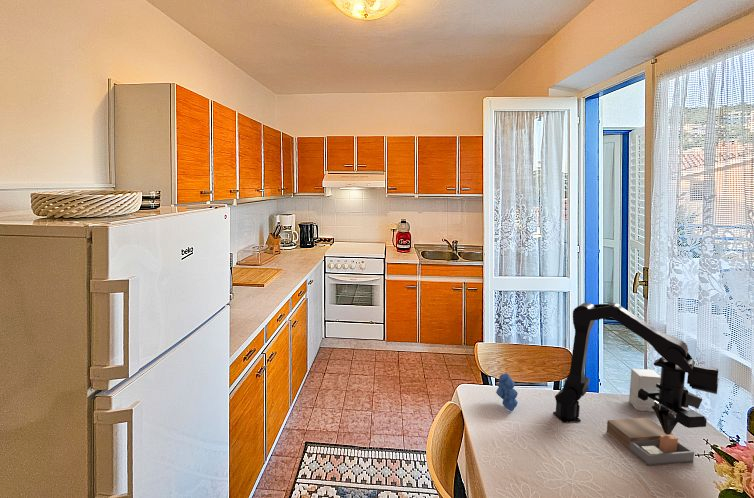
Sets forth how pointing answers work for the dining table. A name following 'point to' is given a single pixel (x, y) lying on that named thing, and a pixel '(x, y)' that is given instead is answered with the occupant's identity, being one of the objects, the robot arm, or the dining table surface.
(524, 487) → the dining table surface
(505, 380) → the grapes
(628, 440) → the walnut board
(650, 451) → the sage tile
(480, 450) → the dining table surface
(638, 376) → the supplement box
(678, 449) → the tray
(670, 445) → the terracotta tile
